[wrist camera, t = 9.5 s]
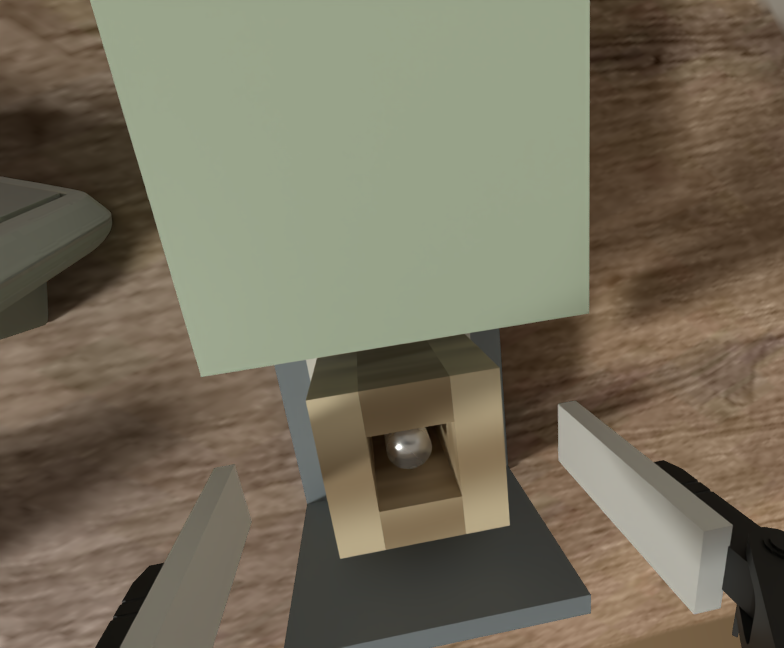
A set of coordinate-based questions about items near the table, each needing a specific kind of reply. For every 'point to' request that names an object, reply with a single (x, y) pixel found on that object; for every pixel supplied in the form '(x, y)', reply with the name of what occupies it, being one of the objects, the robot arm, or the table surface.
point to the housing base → (420, 563)
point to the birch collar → (400, 413)
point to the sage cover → (358, 166)
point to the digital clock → (41, 245)
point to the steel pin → (408, 447)
